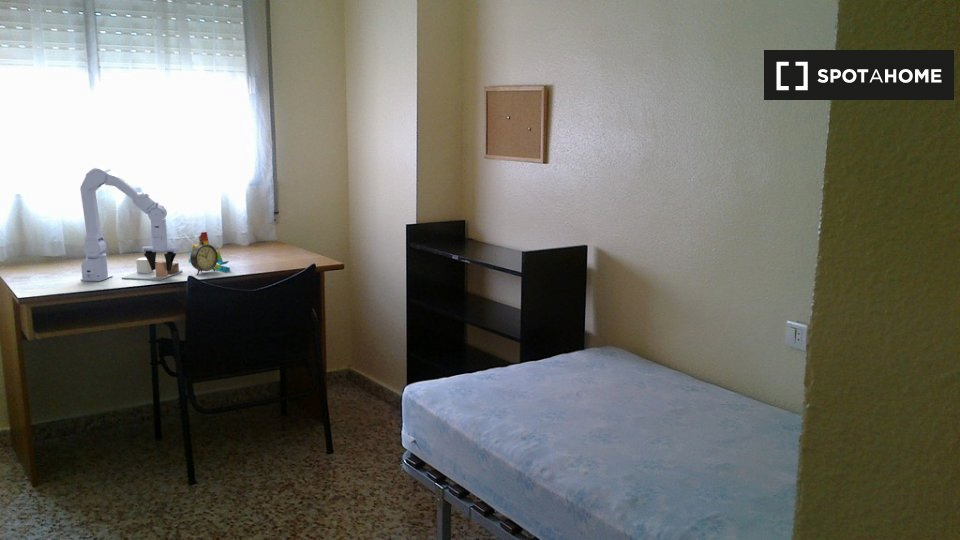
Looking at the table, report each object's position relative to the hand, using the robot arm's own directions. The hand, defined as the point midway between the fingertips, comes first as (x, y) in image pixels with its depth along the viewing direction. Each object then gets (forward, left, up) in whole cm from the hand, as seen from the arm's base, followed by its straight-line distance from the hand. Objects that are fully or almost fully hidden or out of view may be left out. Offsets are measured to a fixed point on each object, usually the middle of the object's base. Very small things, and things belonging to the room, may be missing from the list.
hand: (161, 270), depth 314 cm
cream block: (+6, +10, -2) cm, 12 cm away
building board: (+3, +5, -3) cm, 7 cm away
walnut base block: (+7, +1, -3) cm, 8 cm away
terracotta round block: (0, 0, -2) cm, 2 cm away
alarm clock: (+12, -12, -3) cm, 17 cm away
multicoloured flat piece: (+25, -8, -3) cm, 26 cm away
